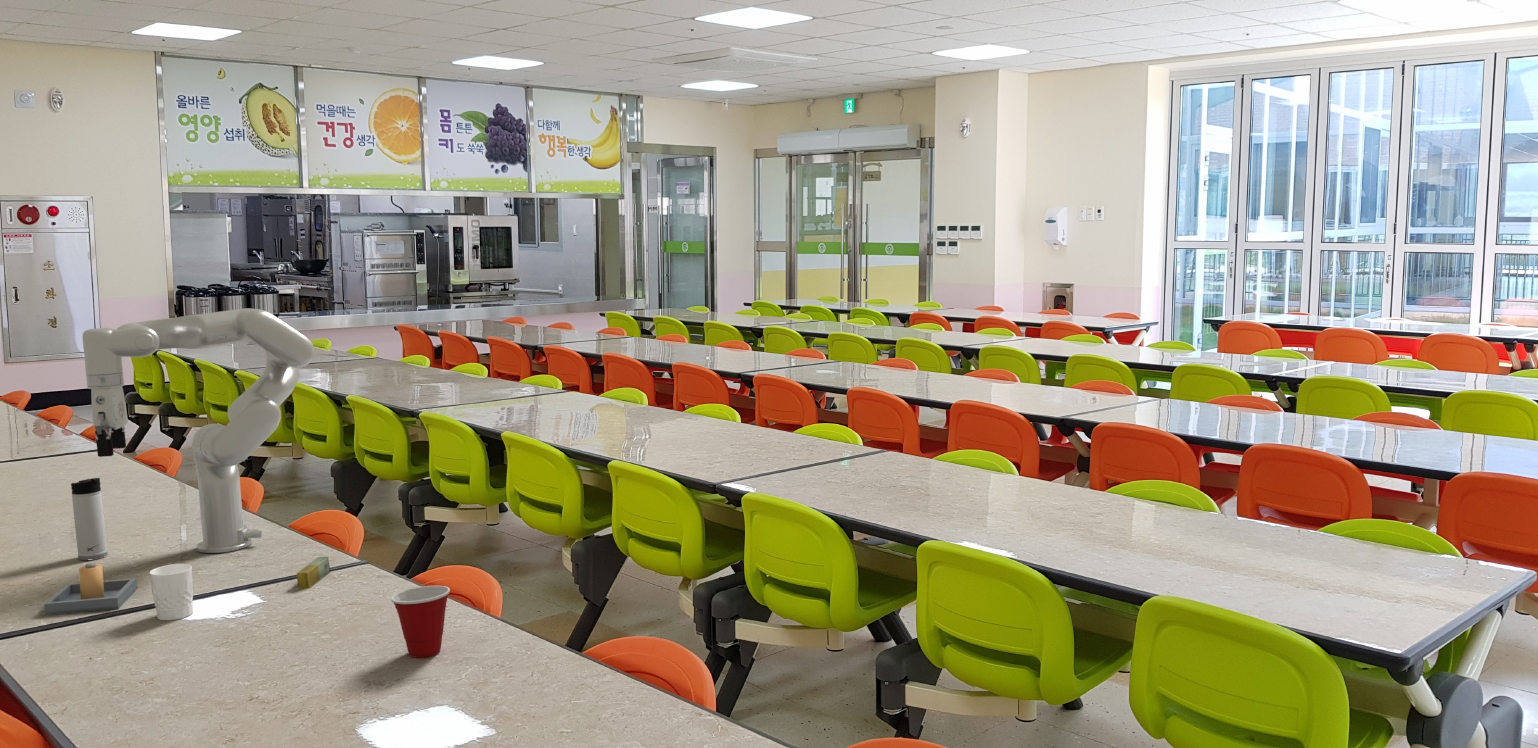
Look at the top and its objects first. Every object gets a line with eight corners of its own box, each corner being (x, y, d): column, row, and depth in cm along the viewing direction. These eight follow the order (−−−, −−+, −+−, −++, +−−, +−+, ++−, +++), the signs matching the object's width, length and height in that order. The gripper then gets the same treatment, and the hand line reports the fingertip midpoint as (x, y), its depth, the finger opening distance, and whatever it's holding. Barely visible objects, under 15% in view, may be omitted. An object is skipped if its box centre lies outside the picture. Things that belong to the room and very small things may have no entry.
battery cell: (107, 595, 253) (105, 561, 252) (98, 601, 248) (96, 566, 248) (86, 595, 252) (84, 562, 251) (77, 601, 248) (74, 567, 247)
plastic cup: (432, 637, 225) (428, 578, 223) (465, 650, 218) (461, 589, 216) (382, 654, 217) (378, 593, 215) (415, 667, 210) (411, 604, 208)
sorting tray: (137, 588, 259) (136, 578, 258) (118, 608, 245) (117, 597, 245) (68, 594, 255) (67, 583, 255) (45, 615, 242) (44, 604, 241)
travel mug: (95, 561, 280) (87, 481, 278) (72, 560, 282) (64, 481, 279) (114, 554, 286) (107, 476, 284) (92, 553, 288) (84, 475, 285)
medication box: (319, 573, 269) (317, 556, 268) (330, 572, 269) (329, 556, 268) (297, 589, 257) (296, 572, 256) (309, 589, 257) (308, 572, 256)
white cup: (149, 623, 236) (145, 576, 234) (158, 611, 243) (154, 565, 242) (191, 619, 238) (187, 572, 236) (199, 607, 245) (195, 562, 244)
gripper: (111, 384, 261) (118, 458, 264) (133, 375, 278) (140, 444, 280) (74, 386, 260) (82, 460, 262) (99, 376, 276) (106, 446, 279)
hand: (112, 452), depth 271 cm, fingers open, 9 cm apart
